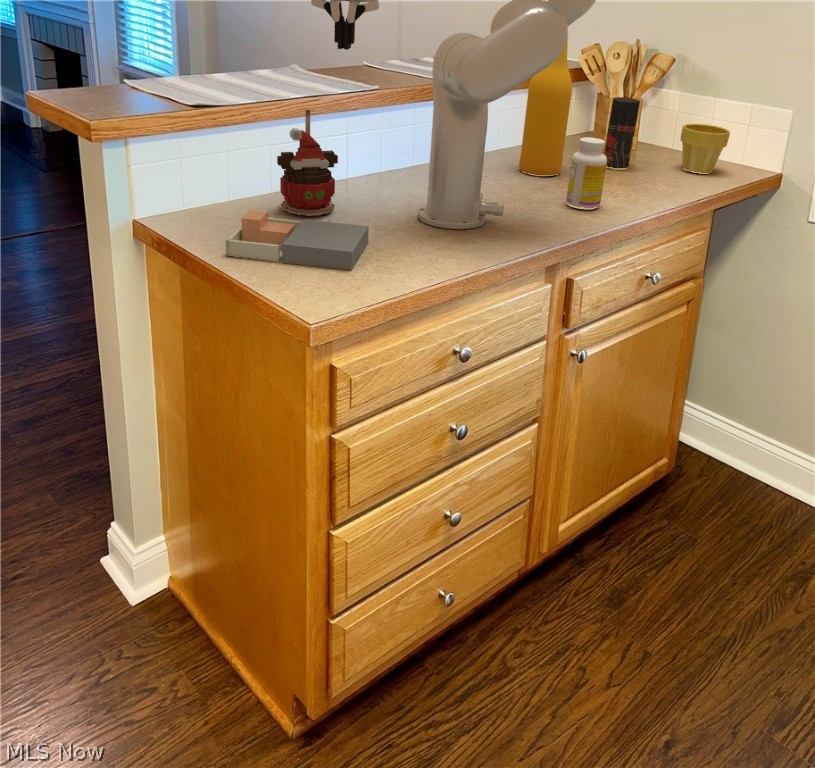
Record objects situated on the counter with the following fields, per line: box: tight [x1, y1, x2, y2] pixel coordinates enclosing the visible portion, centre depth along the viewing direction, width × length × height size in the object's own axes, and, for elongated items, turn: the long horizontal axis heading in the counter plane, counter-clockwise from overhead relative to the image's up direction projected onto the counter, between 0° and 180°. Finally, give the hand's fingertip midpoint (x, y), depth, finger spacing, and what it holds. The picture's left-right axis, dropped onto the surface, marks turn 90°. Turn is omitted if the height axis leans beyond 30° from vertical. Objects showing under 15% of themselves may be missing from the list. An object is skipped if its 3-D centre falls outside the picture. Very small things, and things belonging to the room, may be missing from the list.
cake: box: [276, 108, 339, 217], centre depth 154 cm, size 11×9×18 cm
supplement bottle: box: [565, 136, 607, 208], centre depth 168 cm, size 7×7×13 cm
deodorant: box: [603, 96, 641, 168], centre depth 196 cm, size 6×6×15 cm
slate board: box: [281, 218, 370, 272], centre depth 139 cm, size 11×13×3 cm
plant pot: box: [680, 123, 731, 173], centre depth 199 cm, size 10×10×10 cm
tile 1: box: [240, 209, 269, 243], centre depth 140 cm, size 4×4×3 cm
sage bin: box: [225, 217, 301, 263], centre depth 140 cm, size 8×13×3 cm, turn 171°
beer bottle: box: [518, 35, 573, 175], centre depth 185 cm, size 9×9×29 cm
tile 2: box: [259, 222, 295, 251], centre depth 140 cm, size 4×4×3 cm
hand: (344, 48), depth 140 cm, fingers closed
